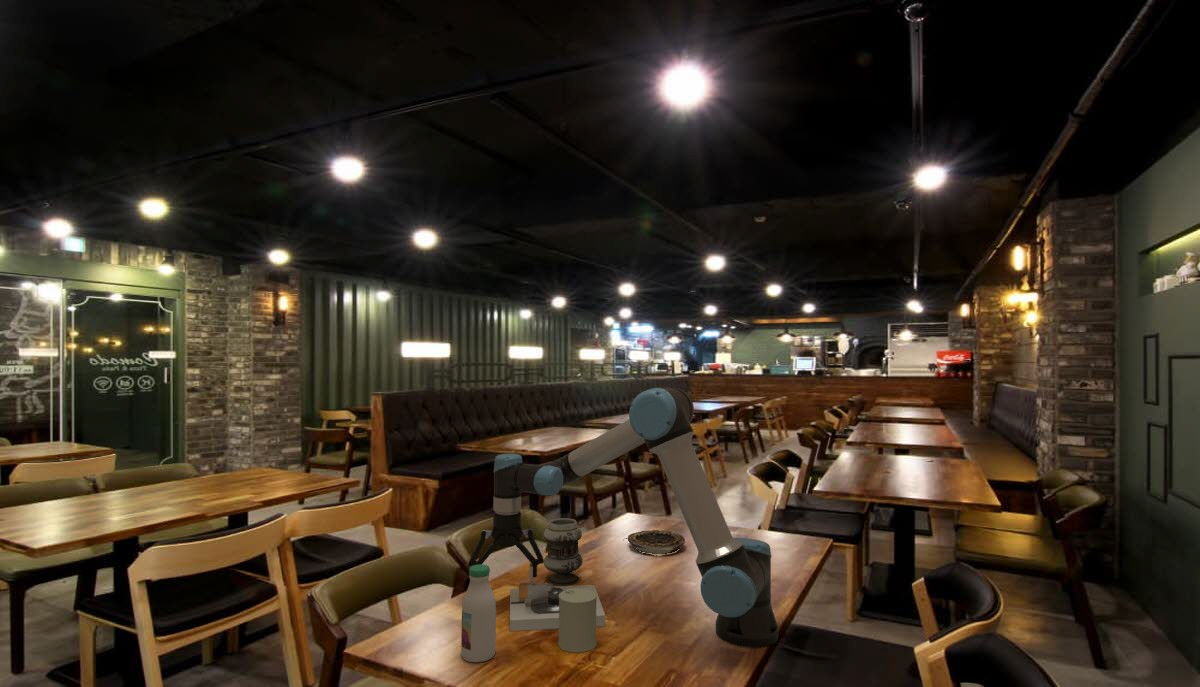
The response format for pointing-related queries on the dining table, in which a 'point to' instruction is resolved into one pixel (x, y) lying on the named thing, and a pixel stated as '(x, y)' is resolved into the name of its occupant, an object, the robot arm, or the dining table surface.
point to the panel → (530, 620)
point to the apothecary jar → (563, 551)
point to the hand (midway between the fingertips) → (506, 590)
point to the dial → (541, 597)
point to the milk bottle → (478, 617)
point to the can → (577, 620)
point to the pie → (656, 541)
